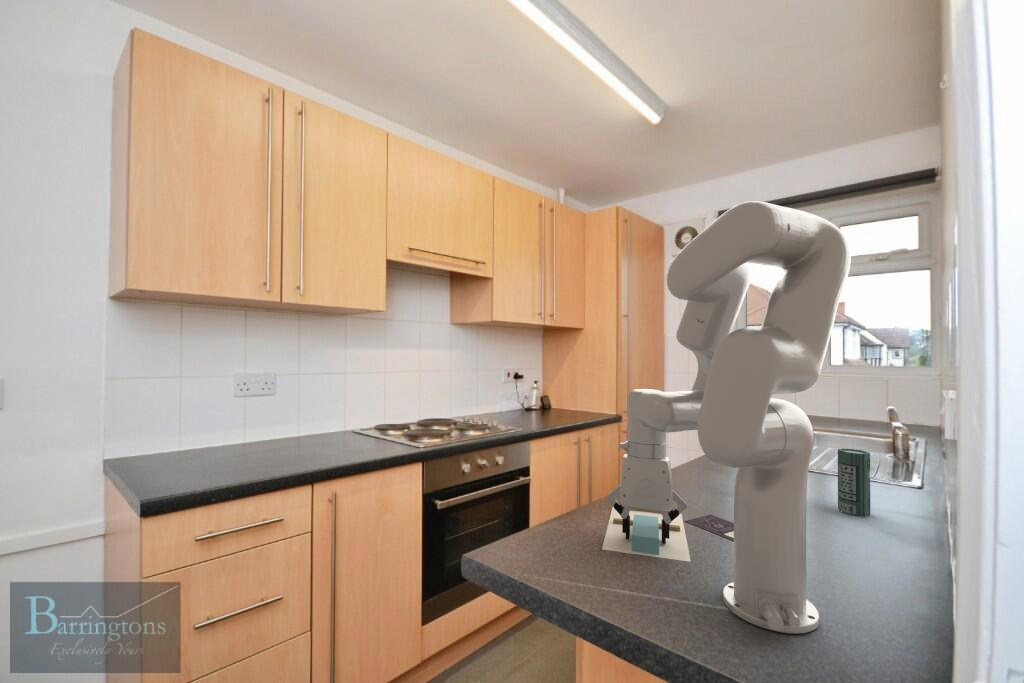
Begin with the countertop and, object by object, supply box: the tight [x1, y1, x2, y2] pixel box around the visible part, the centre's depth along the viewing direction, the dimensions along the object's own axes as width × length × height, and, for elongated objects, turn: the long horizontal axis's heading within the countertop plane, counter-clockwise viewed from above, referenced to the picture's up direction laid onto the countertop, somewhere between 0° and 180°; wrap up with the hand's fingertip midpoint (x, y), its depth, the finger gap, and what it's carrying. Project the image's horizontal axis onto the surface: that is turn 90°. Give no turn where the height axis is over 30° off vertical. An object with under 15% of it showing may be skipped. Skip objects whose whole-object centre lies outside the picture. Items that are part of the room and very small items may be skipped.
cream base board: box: [601, 503, 692, 563], centre depth 97 cm, size 26×16×1 cm, turn 163°
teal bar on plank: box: [632, 514, 659, 555], centre depth 91 cm, size 12×5×3 cm, turn 163°
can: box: [837, 448, 871, 518], centre depth 112 cm, size 6×6×15 cm
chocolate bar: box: [683, 514, 734, 542], centre depth 97 cm, size 9×1×18 cm
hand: (645, 538), depth 91 cm, fingers open, 6 cm apart
